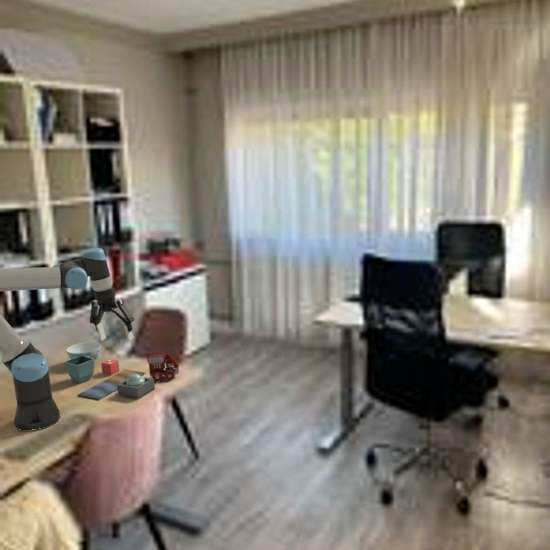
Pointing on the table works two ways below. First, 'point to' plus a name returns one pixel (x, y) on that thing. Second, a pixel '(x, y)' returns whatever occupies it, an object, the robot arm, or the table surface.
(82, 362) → the flower pot
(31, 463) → the table surface
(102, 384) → the board
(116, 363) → the die
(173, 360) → the toy fire truck
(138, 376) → the dome cap
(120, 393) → the dome housing
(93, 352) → the chinaware
